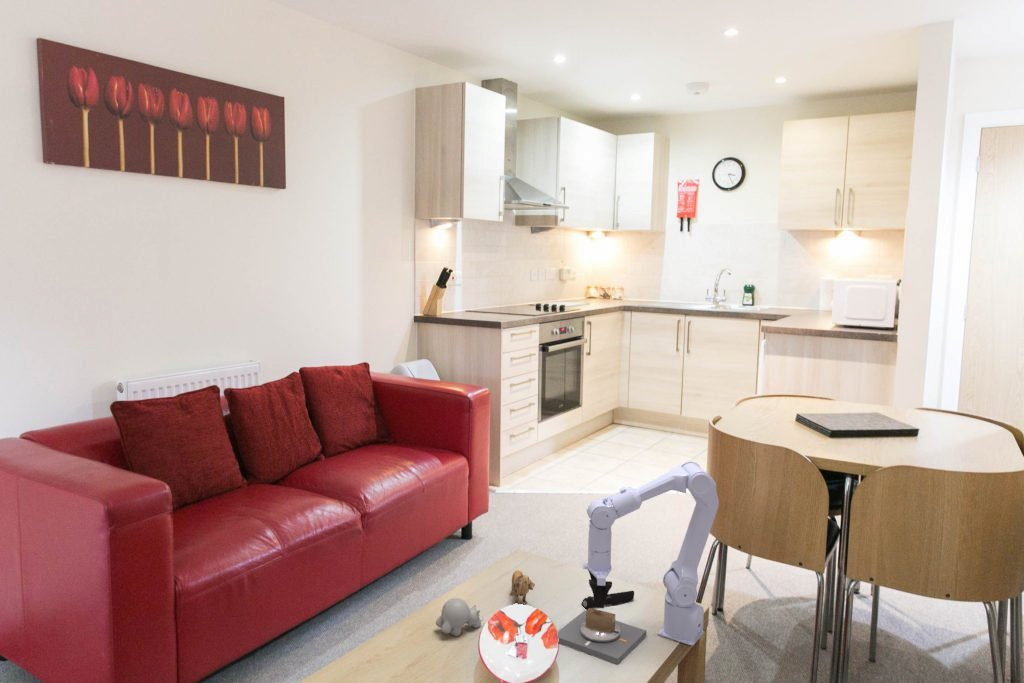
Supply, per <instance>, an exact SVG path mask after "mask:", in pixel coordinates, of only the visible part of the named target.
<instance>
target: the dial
mask: <svg viewBox="0 0 1024 683" xmlns="http://www.w3.org/2000/svg"><path fill="white" fill-rule="evenodd" d="M585 611H586V621H584V622H583V623H582V624H581V626H580V632H581V634H582V635H583V636H584V637H585V638H587V639H589V640H591V641H595V642H610V641H614V640H616V639H617V638H618V637H619V636H620V627H619V625H618V624H616V623H615V620H616V613H612V612H608V611H605V610H600V609H597V608H589V609H588V610H585Z"/></svg>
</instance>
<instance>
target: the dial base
mask: <svg viewBox="0 0 1024 683" xmlns="http://www.w3.org/2000/svg"><path fill="white" fill-rule="evenodd" d="M586 611H587V610H585V609H584V610H583V611H582V612H581V613H579V614H578V615H577V616H576V617H574V618H573V619H572V620H570V621H569V622H568V623H566V624H564V626H562V628H560V629H559V630H557V632H558V638H559V643H558V644H560V645H563V646H566V647H567V648H571V649H574V650H576V651H579V652H581V653H585V654H587V655H590V656H593V657H596V658H599V659H601V660H604V661H607V662H609V663H612V664H615V665H619V664H620V663H621V662H622V661H623V660H624V659H625V658H626V657H627V656H628V655H629V654H631V652H632V651H633V650H634V649H635V648H636V647H637V646H639V644H640V643H641V642H642V641H643V640H644V639H645V638H647V635H648V634H647V633H648V632H647V630H646V629H643V628H639V627H636V626H633V625H631V624H627V623H625V622H622V621H619V620H616V619H615V623H616V624H618V625H619V627H620V636H619V637H618V638H617V639H616V640H614V641H610V642H595V641H591V640H589V639H587V638H585V637H584V636H583V635H582V634H581V632H580V626H581V624H582V623H583V622H584V621H586Z"/></svg>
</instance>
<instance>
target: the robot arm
mask: <svg viewBox="0 0 1024 683" xmlns="http://www.w3.org/2000/svg"><path fill="white" fill-rule="evenodd" d="M716 487H717V483H716V482H715V480H714V479H713V477H712V476H711V475H710V474H709V473H708V472H706V471H705V470H704V469H703V468H702V467H701V466H700V465H699V464H698V463H697V462H695V461H685V462H684V463H682V464H681V465H676V466H674V467H672V468H671V469H670V470H669V471H667V472H666V473H664V474H662V475H660V476H658V477H656V478H655V479H652V480H651V481H649V482H647V483H645V484H643V485H641V486H640V487H638V488H633V487H627V488H625V487H624V486H623V487H621V488H620V489H619V491H618V492H616V493H614V494H611V495H609V496H604V497H602V499H595V500H593V501H591V502H590V504H589V505H588V507H587V509H586V514H587V516H588V518H589V524H588V526H589V527H588V538H587V539H588V540H587V541H588V543H587V544H588V547H587V548H588V549H587V551H588V552H587V562H585V563H583V564H582V567H583V569H584V570H587V571H588V573H589V576H590V579H588V584H589V587H590V589H591V591H592V597H594V603H595V607H594V608H595V609H605V606H606V605H605V602H606V598H607V594H609V592H610V590H611V589H612V586H613V581H610V580H609V581H607V577H608V576H609V575H610V573H611V571H612V526H613V525H614V523H615V521H616V520H618V519H620V518H622V517H625V516H627V515H628V514H631V513H633V512H635V511H637V510H639V509H640V508H641V506H642V504H643V502H645V501H647V500H651V499H652V498H655V497H658V496H660V495H663V494H665V493H667V492H670V491H676V492H679V493H683V494H686V493H687V490H688V491H689V493H690V494H691V496H692V498H693V499H694V501H695V506H694V509H693V511H692V514H691V517H690V520H689V523H688V527H687V530H686V532H685V534H684V535H685V536H684V538H683V541H682V544H681V547H680V548H679V549H680V550H679V553H678V555H677V558H676V559H675V560H674V561H672V562H671V564H670V567H669V568H668V570H666V572H665V573H664V574H663V577H662V583H663V586H664V587H665V588H666V592H665V595H664V608H663V609H664V613H663V627H662V628H661V629H659V631H658V632H657V635H658V636H660V637H664V638H667V639H669V640H673V641H676V642H679V643H682V644H686V645H689V646H693V647H694V646H695V644H696V643H697V642H698V640H700V638H701V637H702V636H703V635H704V634H705V631H704V614H705V613H704V607H703V606H702V605H700V604H698V603H696V600H697V597H698V592H697V591H698V590H697V589H698V588H697V586H698V583H699V578H698V567H699V564H700V561H701V558H702V555H703V553H704V550H705V547H706V544H707V541H708V538H709V536H710V532H711V529H712V527H713V523H714V521H715V518H716V515H717V512H718V509H719V505H720V502H719V497H718V493H717V488H716Z"/></svg>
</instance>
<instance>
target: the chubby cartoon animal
mask: <svg viewBox="0 0 1024 683" xmlns="http://www.w3.org/2000/svg"><path fill="white" fill-rule="evenodd" d="M476 607H477V605H476V604H474V605H473V606H472V607H469V604H468V603H467V602H466V601H465V600H464V599H462V598H458V597H453V598H451V599H448V600H447V601H446V602H445V603H444V604H443V605H442V609H441V615H440V616H439V617H438V618H437V619H436V621H435V625H436V626H437V627H438V628H441V629H440V631H441V632H442V633H443V634H447V635H449V634H451V635H453V636H455V637H459V636H460V635H461V633H462V628H463V627H464V626H466V625H465V624H467V625H468V626H471V627H473V628H475V629H477V628H479V627H480V626H481V625H482V622H483V621H484V614H482V616H480V612H481V610H480V609H479V610H478V609H477V608H476Z"/></svg>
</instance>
